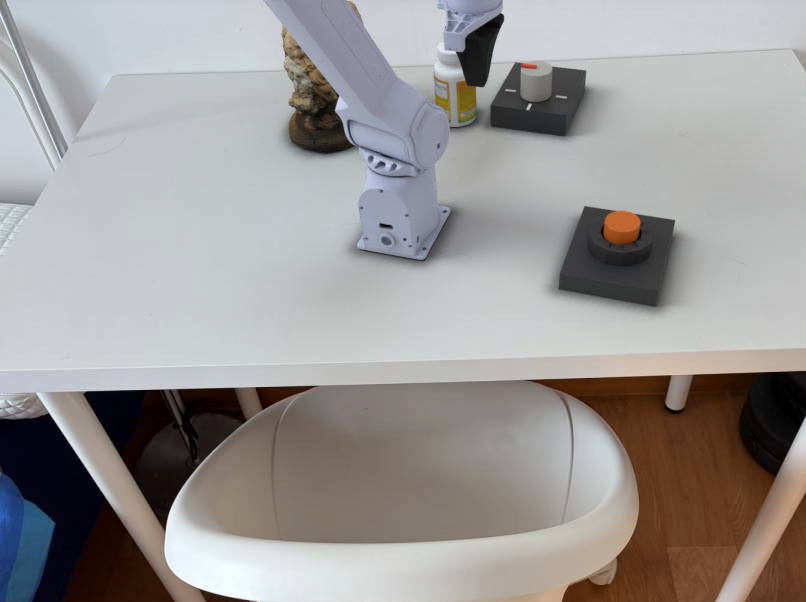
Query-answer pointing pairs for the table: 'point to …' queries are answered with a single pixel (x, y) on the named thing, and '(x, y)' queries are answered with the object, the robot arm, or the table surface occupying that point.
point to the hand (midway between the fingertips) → (477, 83)
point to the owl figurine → (312, 101)
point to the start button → (621, 227)
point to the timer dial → (536, 81)
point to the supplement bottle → (453, 89)
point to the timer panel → (539, 103)
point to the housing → (617, 259)
